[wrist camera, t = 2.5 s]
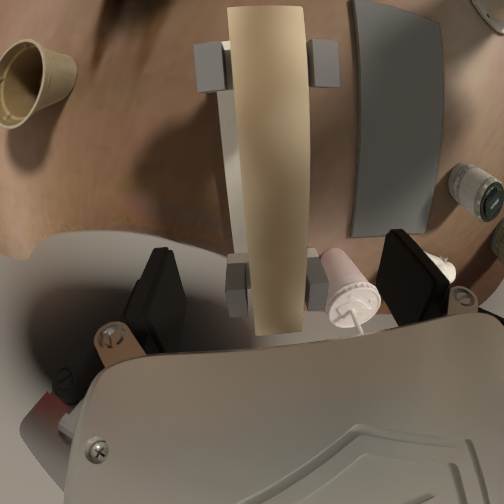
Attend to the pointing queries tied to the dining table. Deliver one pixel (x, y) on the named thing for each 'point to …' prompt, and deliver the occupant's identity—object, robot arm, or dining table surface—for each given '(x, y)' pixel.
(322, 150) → the dining table surface
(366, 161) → the mat
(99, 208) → the dining table surface
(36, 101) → the flower pot
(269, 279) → the rail
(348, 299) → the smoothie
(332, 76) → the hook stand
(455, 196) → the camera lens
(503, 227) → the thermos
